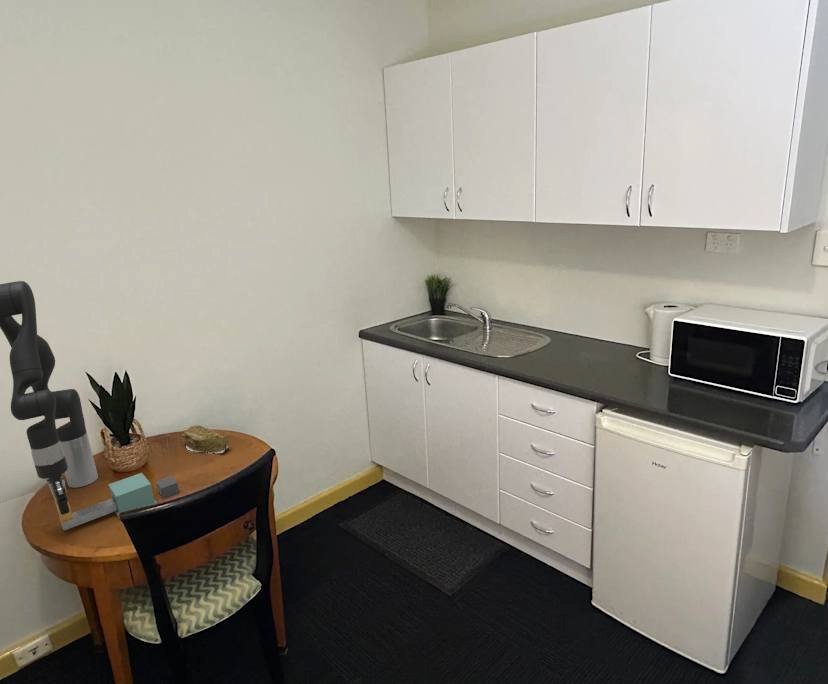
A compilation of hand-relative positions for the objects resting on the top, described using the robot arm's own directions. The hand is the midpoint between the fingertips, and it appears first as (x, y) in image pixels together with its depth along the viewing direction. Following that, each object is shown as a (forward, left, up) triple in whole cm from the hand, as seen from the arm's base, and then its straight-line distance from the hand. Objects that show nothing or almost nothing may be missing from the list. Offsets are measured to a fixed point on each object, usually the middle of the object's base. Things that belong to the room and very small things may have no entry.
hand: (64, 510), depth 170 cm
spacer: (0, +26, -5) cm, 27 cm away
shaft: (0, +9, -5) cm, 11 cm away
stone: (-23, +50, -7) cm, 55 cm away
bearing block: (0, +18, -7) cm, 19 cm away
